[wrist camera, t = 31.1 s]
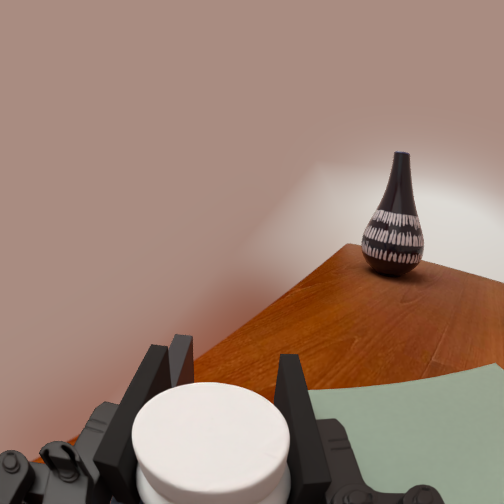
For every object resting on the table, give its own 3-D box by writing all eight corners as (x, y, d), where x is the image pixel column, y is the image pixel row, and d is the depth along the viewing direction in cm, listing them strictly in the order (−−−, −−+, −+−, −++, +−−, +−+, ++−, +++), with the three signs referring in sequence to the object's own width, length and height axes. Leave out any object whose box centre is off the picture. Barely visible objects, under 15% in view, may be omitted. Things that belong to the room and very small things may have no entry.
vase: (348, 263, 74) (360, 149, 67) (399, 265, 75) (411, 160, 68) (373, 283, 59) (389, 143, 52) (429, 284, 59) (446, 158, 53)
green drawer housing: (298, 631, 3) (359, 631, 1) (281, 476, 15) (303, 389, 13) (508, 543, 4) (594, 463, 2) (450, 444, 16) (495, 362, 14)
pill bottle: (198, 481, 11) (186, 356, 9) (285, 515, 9) (326, 400, 7) (143, 539, 7) (78, 433, 5) (241, 587, 5) (259, 539, 3)
